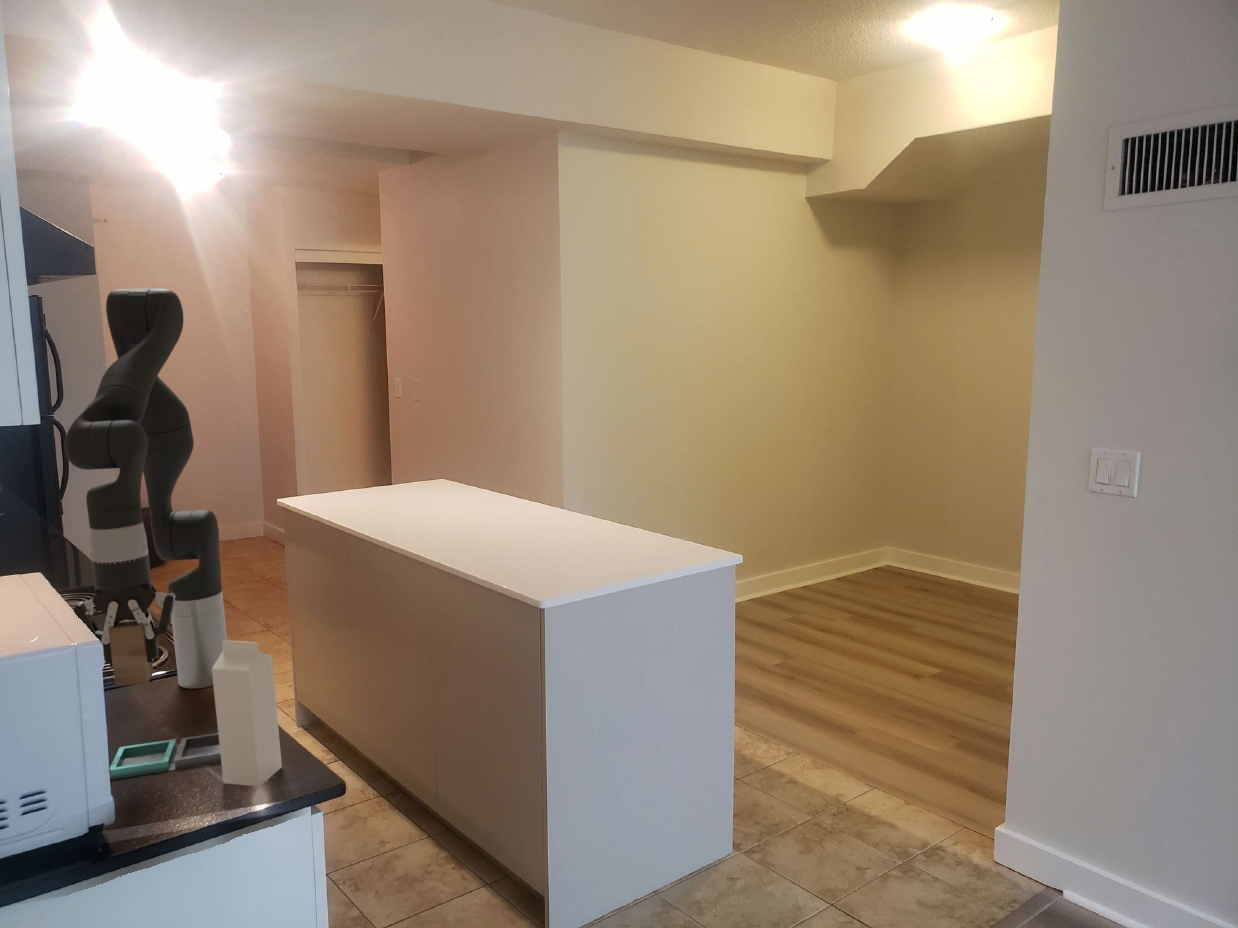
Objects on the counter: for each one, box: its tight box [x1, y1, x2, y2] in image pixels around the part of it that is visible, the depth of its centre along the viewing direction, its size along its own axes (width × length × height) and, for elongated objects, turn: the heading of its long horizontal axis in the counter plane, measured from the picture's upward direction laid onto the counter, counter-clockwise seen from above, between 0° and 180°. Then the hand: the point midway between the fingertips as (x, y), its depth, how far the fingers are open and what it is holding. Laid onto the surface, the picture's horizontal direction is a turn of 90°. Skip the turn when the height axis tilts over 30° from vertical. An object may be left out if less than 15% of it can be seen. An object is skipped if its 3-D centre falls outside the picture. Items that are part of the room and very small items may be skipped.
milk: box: [212, 640, 283, 787], centre depth 137 cm, size 6×6×22 cm
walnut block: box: [108, 620, 154, 687], centre depth 141 cm, size 4×4×9 cm
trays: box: [109, 732, 221, 780], centre depth 145 cm, size 9×18×2 cm, turn 107°
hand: (132, 662), depth 141 cm, fingers closed on walnut block, 4 cm apart
